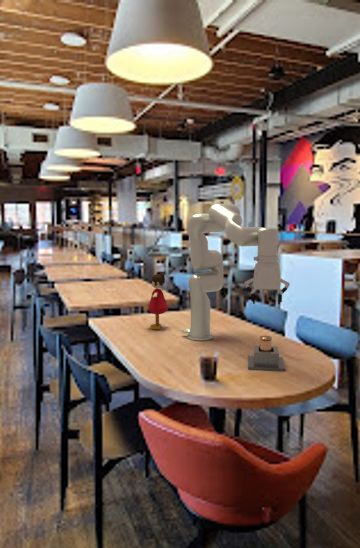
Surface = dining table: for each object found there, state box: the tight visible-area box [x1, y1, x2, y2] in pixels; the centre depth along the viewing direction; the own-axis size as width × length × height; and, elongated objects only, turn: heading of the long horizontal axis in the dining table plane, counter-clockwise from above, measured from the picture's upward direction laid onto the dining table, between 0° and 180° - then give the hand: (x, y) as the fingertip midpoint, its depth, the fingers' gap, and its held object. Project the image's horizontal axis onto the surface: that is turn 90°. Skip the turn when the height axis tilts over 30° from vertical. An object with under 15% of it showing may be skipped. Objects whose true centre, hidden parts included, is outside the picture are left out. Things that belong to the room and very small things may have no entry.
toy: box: [147, 272, 169, 330], centre depth 222 cm, size 27×11×30 cm, turn 178°
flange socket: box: [247, 345, 286, 372], centre depth 167 cm, size 14×14×6 cm
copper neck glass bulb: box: [259, 335, 273, 352], centre depth 167 cm, size 5×5×10 cm
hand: (266, 303), depth 165 cm, fingers open, 9 cm apart
